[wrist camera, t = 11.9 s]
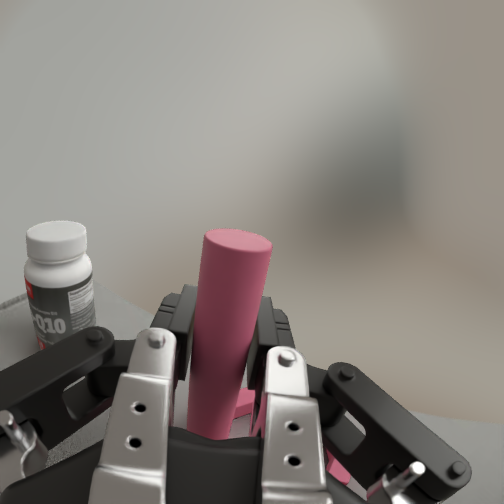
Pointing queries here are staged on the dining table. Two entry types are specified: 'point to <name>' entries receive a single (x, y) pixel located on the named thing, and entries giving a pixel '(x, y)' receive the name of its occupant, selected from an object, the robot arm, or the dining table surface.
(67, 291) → the pill bottle
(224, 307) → the pink ring with post
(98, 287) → the dining table surface
